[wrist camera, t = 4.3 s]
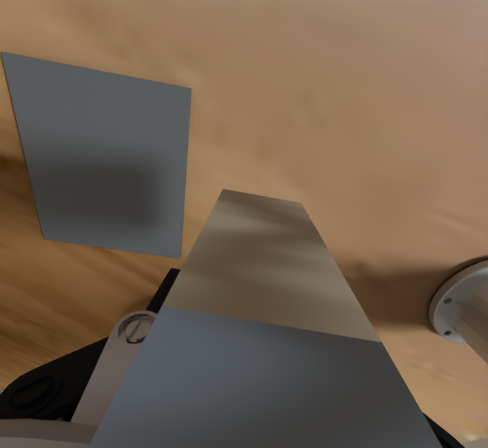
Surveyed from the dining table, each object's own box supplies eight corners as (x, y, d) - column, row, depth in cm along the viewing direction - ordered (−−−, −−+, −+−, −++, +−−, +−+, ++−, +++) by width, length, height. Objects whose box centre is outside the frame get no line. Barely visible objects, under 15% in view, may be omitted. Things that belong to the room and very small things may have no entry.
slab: (301, 203, 11) (483, 520, 2) (271, 307, 14) (297, 635, 5) (223, 188, 11) (82, 456, 2) (208, 296, 14) (120, 611, 5)
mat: (191, 89, 18) (189, 88, 18) (180, 255, 25) (179, 258, 24) (8, 53, 17) (0, 51, 17) (48, 236, 24) (43, 238, 23)
